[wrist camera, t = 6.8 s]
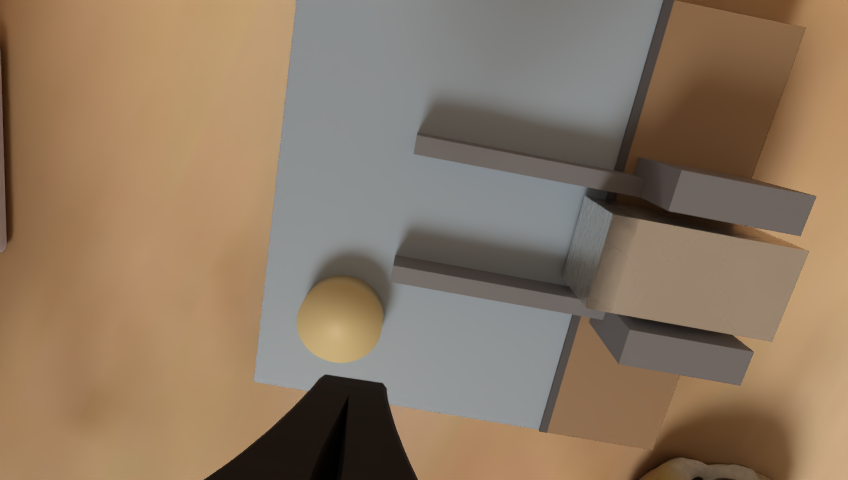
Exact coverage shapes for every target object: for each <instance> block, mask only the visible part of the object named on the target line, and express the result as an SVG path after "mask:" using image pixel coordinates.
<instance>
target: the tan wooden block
mask: <svg viewBox="0 0 848 480" xmlns="http://www.w3.org/2000/svg"><path fill="white" fill-rule="evenodd" d="M808 253H809V251H808V250H805V249H803V248H800V247H798V246H796V245H793V244H791V243H788V242H786V241H784V240H781V239H779V238H776V237H774V236H772V235H769V234H767V233H764V232H762V231H760V230H757V229H755V228H752V227H747V226H742V225H737V224H731V223H726V222H721V221H716V220H710V219H705V218H700V217H695V216H689V215H684V214H679V213H674V212H668V211H663V210H658V209H652V208H647V207H642V206H637V205H631V204H626V203H621V202H616V201H610V200H605V199H600V198H595V197H589V196H585V197H584V200H583V204H582V208H581V211H580V215H579V218H578V222H577V226H576V229H575V233H574V236H573V240H572V244H571V247H570V251H569V254H568V258H567V262H566V265H565V269H564V272H563V276H562V277H563V279H564V280H565V281H566V283H567V284H568V285H569V287H570V288H571V290H572V291H573V292H574V294H575V295H576V296H577V298H578V299H579V300H580V302H581V303H582V305H583V306H584V307H585V308H587V309H592V310H598V311H603V312H609V313H614V314H620V315H626V316H631V317H637V318H642V319H648V320H653V321H659V322H665V323H670V324H676V325H681V326H687V327H692V328H698V329H704V330H709V331H715V332H720V333H726V334H731V335H737V336H743V337H748V338H754V339H759V340H765V341H770V342H772V341H773V338H774V336H775V333H776V331H777V329H778V326H779V324H780V321H781V319H782V316H783V314H784V312H785V309H786V307H787V304H788V302H789V299H790V297H791V294H792V292H793V290H794V287H795V285H796V282H797V280H798V277H799V275H800V272H801V270H802V268H803V265H804V263H805V260H806V258H807V255H808Z"/></svg>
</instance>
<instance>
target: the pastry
mask: <svg viewBox="0 0 848 480" xmlns="http://www.w3.org/2000/svg"><path fill="white" fill-rule="evenodd" d="M639 480H772V479H769V478H767V477H765V476H764V475H762V474H757V473H755V472H754V470H753V469H751V468H748V467H743V466H740V465H736V464H731V465H727V464H714V465H706V464H704V463H703V462H700V461H697V460H692V459H687V458H681V457H680V458H675V459H671V460H669V461H667V462H665V463H663V464H662V465H660V466H659V467H657V468H655V469H652V470H650V471H649V472H647V473H646V474H644V475H643V476H642V477H641V478H640V479H639Z"/></svg>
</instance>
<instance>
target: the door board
mask: <svg viewBox="0 0 848 480" xmlns="http://www.w3.org/2000/svg"><path fill="white" fill-rule="evenodd" d="M805 30H806V28H805V27H801V26H796V25H791V24H786V23H782V22H777V21H772V20H767V19H762V18H758V17H753V16H748V15H743V14H739V13H734V12H729V11H724V10H719V9H715V8H710V7H705V6H700V5H696V4H691V3H686V2H681V1H677V0H296V9H295V18H294V27H293V36H292V45H291V54H290V63H289V71H288V80H287V89H286V98H285V107H284V116H283V125H282V134H281V143H280V152H279V161H278V170H277V179H276V188H275V196H274V205H273V214H272V223H271V232H270V241H269V250H268V259H267V268H266V277H265V286H264V295H263V304H262V313H261V321H260V330H259V339H258V348H257V357H256V366H255V375H254V382H258V383H264V384H270V385H276V386H282V387H288V388H294V389H300V390H306V391H309V390H310V389H311V388H312V387H313V386H314V384H315V383H316V382H317V381H318V379H319V378H321V377H322V376H324V375H325V374H327V375H333V376H340V377H347V378H353V379H360V380H367V381H373V382H380V383H383V384H384V385H385V387H386V388H387V396H388V402H389V405H395V406H401V407H407V408H413V409H419V410H425V411H431V412H437V413H443V414H449V415H455V416H461V417H467V418H473V419H479V420H485V421H491V422H496V423H502V424H508V425H514V426H520V427H526V428H532V429H538V430H539V432H545V433H553V434H559V435H565V436H571V437H577V438H583V439H589V440H595V441H601V442H607V443H613V444H619V445H625V446H631V447H637V448H643V449H649V450H653V448H654V445H655V442H656V439H657V437H658V434H659V431H660V428H661V426H662V423H663V420H664V417H665V415H666V412H667V409H668V406H669V404H670V401H671V398H672V395H673V393H674V390H675V387H676V384H677V382H678V379H679V376H680V375H683V376H688V377H694V378H700V379H706V380H711V381H717V382H723V383H728V384H734V385H741V383H742V380H743V378H744V375H745V373H746V370H747V368H748V365H749V363H750V360H751V358H752V356H753V353H754V352H753V351H752V350H751V349H750V348H748V347H747V346H746V345H744V344H743V343H742V342H741V341H739V340H738V339H737V338H736V337H734V336H733V335H731V334H726V333H720V332H715V331H709V330H704V329H698V328H692V327H687V326H681V325H676V324H670V323H665V322H659V321H653V320H648V319H642V318H637V317H631V316H626V315H620V314H614V313H609V312H603V311H598V310H592V309H587V308H585V307H584V306H583V305H582V303H581V302H580V300H579V299H578V298H577V296H576V295H575V294H574V292H573V291H572V290H571V288H570V287H569V285H568V284H567V283H566V281H565V280H564V279H563V277H562V276H563V272H564V269H565V265H566V262H567V258H568V254H569V251H570V247H571V244H572V240H573V236H574V233H575V229H576V226H577V222H578V218H579V215H580V211H581V208H582V204H583V200H584V197H585V196H589V197H595V198H600V199H605V200H610V201H616V202H621V203H626V204H631V205H637V206H642V207H647V208H652V209H658V210H663V211H668V212H674V213H679V214H684V215H689V216H695V217H700V218H705V219H710V220H716V221H721V222H726V223H731V224H739V225H744V226H750V227H755V228H760V229H765V230H771V231H776V232H781V233H786V234H792V235H797V236H801V234H802V231H803V229H804V226H805V224H806V221H807V219H808V216H809V214H810V211H811V209H812V206H813V204H814V201H815V199H816V196H814V195H810V194H806V193H802V192H799V191H795V190H791V189H788V188H784V187H780V186H776V185H773V184H769V183H765V182H761V181H758V180H754V179H751V178H752V175H753V173H754V170H755V167H756V164H757V162H758V159H759V156H760V153H761V151H762V148H763V145H764V142H765V140H766V137H767V134H768V131H769V129H770V126H771V123H772V120H773V118H774V115H775V112H776V109H777V107H778V104H779V101H780V98H781V96H782V93H783V90H784V87H785V85H786V82H787V79H788V76H789V74H790V71H791V68H792V65H793V63H794V60H795V57H796V54H797V52H798V49H799V46H800V43H801V41H802V38H803V35H804V32H805Z"/></svg>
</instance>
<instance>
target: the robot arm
mask: <svg viewBox="0 0 848 480" xmlns="http://www.w3.org/2000/svg"><path fill="white" fill-rule="evenodd" d="M6 244H7V238H6V207H5V176H4V144H3V113H2V82H1V51H0V252H3V251H4V249H5V248H6ZM204 480H418V479H417V477H416V475H415V472H414V470H413V468H412V466H411V464H410V462H409V460H408V457H407V455H406V453H405V450H404V448H403V445H402V443H401V440H400V437H399V435H398V432H397V430H396V427H395V424H394V420H393V417H392V414H391V410H390V406H389V402H388V396H387V388H386V387H385V385H384V384H383V383H380V382H373V381H367V380H360V379H353V378H347V377H340V376H333V375H327V374H325V375H324V376H322V377H321V378H319V379H318V381H317V382H316V383H315V384H314V386H313V387H312V388H311V389H310V390H309V391H308V392H307V393H306V395H305V396H304V397H303V398H302V399H301V400H300V401H299V402H298V403H297V404H296V405H295V406H294V407H293V408H292V409H291V410H290V411H289V412H288V413H287V414H286V415H285V416H284V417H282V418H281V419H280V420H279V421H278V422H277V423H276V424H275V425H274V426H273V427H272V428H271V429H270V430H268V431H267V432H266V433H265V434H264V435H262V436H261V437H260V438H259V439H258V440H256V441H255V442H254V443H253V444H252V445H250V446H249V447H248V448H247V449H246V450H244V451H243V452H242V453H241V454H239V455H238V456H237V457H235V458H234V459H233V460H231V461H230V462H229V463H227V464H226V465H225V466H223V467H222V468H220V469H219V470H217V471H216V472H214V473H213V474H212V475H210V476H209V477H207V478H206V479H204Z"/></svg>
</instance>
